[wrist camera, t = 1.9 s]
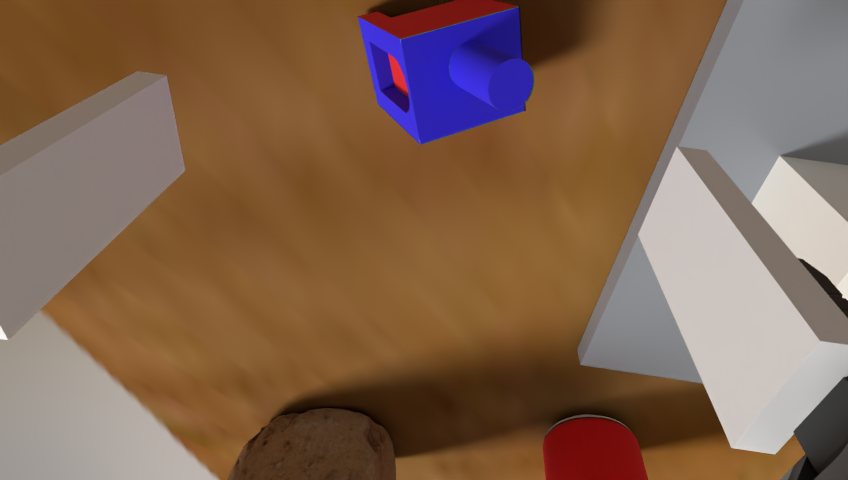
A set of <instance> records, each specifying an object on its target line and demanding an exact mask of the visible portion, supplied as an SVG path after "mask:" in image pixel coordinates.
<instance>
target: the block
mask: <svg viewBox="0 0 848 480" xmlns="http://www.w3.org/2000/svg"><path fill="white" fill-rule="evenodd" d="M227 480H396V466H395V456H394V449H393V444H392V441H391V439H390V436H389V434H388V432H387V431H386V430H385V428H384V427H383V426H381V425H378V424H376V423H375V422H374V421H373V420H371V419H370V417H368V416H365V415H363V414H361V413H359V412H353V411H349V410H346V409H335V408H321V409H313V410H309V411H307V412H306V413H302V414H297V413H291V414H288V415H282V416H278V417H277V418H275V419H274V420H273V421H272V422H271V423H270V424H268V425H267V426H265V427H263V428H261V430H260V432H259V433H258V434H257V435H256V436H254V437H253V438H252V439H251V440H249V441H248V443H247V444H246V445H245V446H244V447H243V449H242V451H241V453H240V455H239V456H238V458H237V460H236V462H235V464H234V465H233V467H232V470H231V472H230V474H229V477H228V479H227Z"/></svg>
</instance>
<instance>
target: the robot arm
mask: <svg viewBox="0 0 848 480" xmlns="http://www.w3.org/2000/svg"><path fill="white" fill-rule="evenodd" d="M184 171H185V167H184V162H183V157H182V152H181V147H180V141H179V136H178V131H177V126H176V121H175V116H174V111H173V106H172V101H171V96H170V90H169V85H168V80H167V75H160V74H153V73H146V72H138V71H137V72H135V73H133V74H131V75H130V76H128V77H126V78H124V79H122V80H120V81H119V82H117V83H115V84H113V85H111V86H109V87H107V88H106V89H104V90H102V91H100V92H98V93H96V94H94V95H93V96H91V97H89V98H87V99H85V100H83V101H82V102H80V103H78V104H76V105H74V106H72V107H70V108H69V109H67V110H65V111H63V112H61V113H59V114H57V115H56V116H54V117H52V118H50V119H48V120H46V121H45V122H43V123H41V124H39V125H37V126H35V127H33V128H32V129H30V130H28V131H26V132H24V133H22V134H20V135H19V136H17V137H15V138H13V139H11V140H9V141H7V142H6V143H4V144H2V145H0V339H4V340H9V339H10V338H11V337H12V336H13V335H14V334H15V333H16V332H17V331H18V330H19V329H20V328H21V327H22V326H24V325H25V324H26V323H27V322H28V321H29V320H30V319H31V318H32V317H33V316H34V315H35V314H36V313H37V312H38V311H39V310H40V309H41V308H42V307H43V306H44V305H45V304H46V303H47V302H49V301H50V300H51V299H52V298H53V297H54V296H55V295H56V294H57V293H58V292H59V291H60V290H61V289H62V288H63V287H64V286H65V285H66V284H67V283H68V282H69V281H70V280H71V279H73V278H74V277H75V276H76V275H77V274H78V273H79V272H80V271H81V270H82V269H83V268H84V267H85V266H86V265H87V264H88V263H89V262H90V261H91V260H92V259H93V258H94V257H95V256H97V255H98V254H99V253H100V252H101V251H102V250H103V249H104V248H105V247H106V246H107V245H108V244H109V243H110V242H111V241H112V240H113V239H114V238H115V237H116V236H117V235H118V234H119V233H120V232H122V231H123V230H124V229H125V228H126V227H127V226H128V225H129V224H130V223H131V222H132V221H133V220H134V219H135V218H136V217H137V216H138V215H139V214H140V213H141V212H142V211H143V210H144V209H146V208H147V207H148V206H149V205H150V204H151V203H152V202H153V201H154V200H155V199H156V198H157V197H158V196H159V195H160V194H161V193H162V192H163V191H164V190H165V189H166V188H167V187H168V186H170V185H171V184H172V183H173V182H174V181H175V180H176V179H177V178H178V177H179V176H180V175H181V174H182V173H183V172H184ZM638 236H639V238H640V241H641V243H642V245H643V247H644V250H645V252H646V254H647V257H648V259H649V261H650V263H651V266H652V268H653V270H654V273H655V275H656V277H657V279H658V282H659V284H660V286H661V288H662V291H663V293H664V295H665V298H666V300H667V302H668V304H669V307H670V309H671V311H672V313H673V316H674V318H675V320H676V323H677V325H678V327H679V329H680V332H681V334H682V336H683V338H684V341H685V343H686V345H687V348H688V350H689V352H690V354H691V357H692V359H693V361H694V364H695V366H696V368H697V370H698V373H699V375H700V377H701V379H702V382H703V384H704V386H705V389H706V391H707V393H708V395H709V398H710V400H711V402H712V404H713V407H714V409H715V411H716V414H717V416H718V418H719V420H720V423H721V425H722V427H723V429H724V432H725V434H726V436H727V439H728V441H729V443H730V445H731V448H736V449H742V450H749V451H756V452H762V453H769V454H776V453H777V452H778V451H779V449H780V448H781V447H782V446H783V445H784V444H785V443H786V442H787V441H788V440H789V439H790V438H791V437H792V435H793V434H795V436H796V437H797V439H798V441H799V443H800V444H801V446H802V448H803V450H804V451H805V453H806V454H805V455H804V456H803V457H802V458H801V459H800V460H799V461H798V462H797V463H796V464H795V465H794V466H793V467H792V468H791V469H790V470H789V471H788V472H787V473H786V474H785V475H784V476H783V477H782V478H781V479H780V480H848V300H847V299H846V298H842V293H841V292H840V291H839V290H838V289H837V288H836V287H835V285H834V284H833V283H832V282H831V281H830V280H829V279H828V277H827V276H825V275H824V274H823V273H821V272H820V271H819V270H817V269H816V268H814V267H813V266H812V265H810V264H809V263H807V262H806V261H805V260H803V259H799V258H797V257H796V256H795V255H794V254H793V252H792V251H791V250H790V249H789V248H788V246H787V245H786V244H785V243H784V242H783V240H782V239H781V238H780V237H779V236H778V234H777V233H776V232H775V231H774V230H773V229H772V227H771V226H770V225H769V224H768V223H767V221H766V220H765V219H764V218H763V217H762V215H761V214H760V213H759V212H758V211H757V209H756V208H755V207H754V206H753V205H752V203H751V202H750V201H749V200H748V199H747V198H746V196H745V195H744V194H743V193H742V192H741V190H740V189H739V188H738V187H737V186H736V184H735V183H734V182H733V181H732V180H731V178H730V177H729V176H728V175H727V174H726V172H725V171H724V170H723V169H722V168H721V167H720V165H719V164H718V163H717V162H716V161H715V159H714V158H713V157H712V156H711V155H710V153H709V152H708V151H707V150H700V149H693V148H686V147H679V146H677V147H676V149H675V151H674V153H673V156H672V158H671V160H670V163H669V165H668V167H667V169H666V172H665V174H664V176H663V179H662V181H661V183H660V185H659V188H658V190H657V192H656V195H655V197H654V199H653V201H652V204H651V206H650V208H649V211H648V213H647V215H646V217H645V220H644V222H643V224H642V227H641V229H640V231H639V233H638Z"/></svg>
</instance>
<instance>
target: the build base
mask: <svg viewBox="0 0 848 480" xmlns="http://www.w3.org/2000/svg"><path fill="white" fill-rule="evenodd" d="M677 146H679V147H686V148H693V149H700V150H707V151H708V152H709V153H710V155H711V156H712V157H713V158H714V159H715V161H716V162H717V163H718V164H719V165H720V167H721V168H722V169H723V170H724V171H725V172H726V174H727V175H728V176H729V177H730V178H731V180H732V181H733V182H734V183H735V184H736V186H737V187H738V188H739V189H740V190H741V192H742V193H743V194H744V195H745V196H746V198H747V199H748V200H749V201H750V202H751V203H752V205H753V206H754V207H755V208H756V209H757V211H758V212H759V213H760V214H761V215H762V217H763V218H764V219H765V220H766V221H767V223H768V224H769V225H770V226H771V227H772V229H773V230H774V231H775V232H776V233H777V234H778V236H779V237H780V238H781V239H782V240H783V242H784V243H785V244H786V245H787V246H788V248H789V249H790V250H791V251H792V252H793V254H794V255H795V256H796V257H797V258H799V259H803V260H805V261H806V262H807V263H809V264H810V265H812V266H813V267H814V268H816V269H817V270H819V271H820V272H821V273H823V274H824V275H825V276H827V277H828V279H829V280H830V281H831V282H832V283H833V284H834V285H835V287H836V288H837V289H838V290H839V291H840V292H841V293H842V298H846V299H847V300H848V0H727V2H726V5H725V7H724V9H723V12H722V14H721V16H720V19H719V21H718V23H717V26H716V28H715V30H714V33H713V35H712V37H711V40H710V42H709V44H708V47H707V49H706V51H705V53H704V56H703V58H702V60H701V63H700V65H699V67H698V70H697V72H696V74H695V77H694V79H693V81H692V84H691V86H690V88H689V91H688V93H687V95H686V98H685V100H684V102H683V105H682V107H681V109H680V112H679V114H678V116H677V118H676V121H675V123H674V125H673V128H672V130H671V132H670V135H669V137H668V139H667V142H666V144H665V146H664V149H663V151H662V153H661V156H660V158H659V160H658V163H657V165H656V167H655V170H654V172H653V174H652V177H651V179H650V181H649V183H648V186H647V188H646V190H645V193H644V195H643V197H642V200H641V202H640V204H639V207H638V209H637V211H636V214H635V216H634V218H633V221H632V223H631V225H630V228H629V230H628V232H627V235H626V237H625V239H624V242H623V244H622V246H621V248H620V251H619V253H618V255H617V258H616V260H615V262H614V265H613V267H612V269H611V272H610V274H609V276H608V279H607V281H606V283H605V286H604V288H603V290H602V293H601V295H600V297H599V300H598V302H597V304H596V307H595V309H594V311H593V313H592V316H591V318H590V320H589V323H588V325H587V327H586V330H585V332H584V334H583V337H582V339H581V341H580V344H579V346H578V348H577V350H578V356H579V361H580V365H584V366H591V367H597V368H604V369H611V370H617V371H624V372H631V373H637V374H644V375H650V376H657V377H664V378H670V379H677V380H684V381H690V382H697V383H703V382H702V379H701V377H700V375H699V373H698V370H697V368H696V366H695V364H694V361H693V359H692V357H691V354H690V352H689V350H688V348H687V345H686V343H685V341H684V338H683V336H682V334H681V332H680V329H679V327H678V325H677V323H676V320H675V318H674V316H673V313H672V311H671V309H670V307H669V304H668V302H667V300H666V298H665V295H664V293H663V291H662V288H661V286H660V284H659V282H658V279H657V277H656V275H655V273H654V270H653V268H652V266H651V263H650V261H649V259H648V257H647V254H646V252H645V250H644V247H643V245H642V243H641V241H640V238H639V236H638V233H639V231H640V229H641V227H642V224H643V222H644V220H645V217H646V215H647V213H648V211H649V208H650V206H651V204H652V201H653V199H654V197H655V195H656V192H657V190H658V188H659V185H660V183H661V181H662V179H663V176H664V174H665V172H666V169H667V167H668V165H669V163H670V160H671V158H672V156H673V153H674V151H675V149H676V147H677Z"/></svg>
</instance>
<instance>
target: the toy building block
mask: <svg viewBox="0 0 848 480" xmlns="http://www.w3.org/2000/svg"><path fill="white" fill-rule="evenodd" d="M358 20H359V24H360V29H361V33H362V37H363V42H364V46H365V50H366V55H367V59H368V63H369V68H370V72H371V76H372V81H373V85H374V89H375V94H376V98H377V102H378V105H379V106H380V107H381V108H382V109H383V110H385V111H386V112H387V113H388V114H389V115H390V116H391V117H392V118H393V119H394V120H395V121H396V122H397V123H398V124H399V125H400V126H401V127H402V128H403V129H404V130H405V131H406V132H408V133H409V134H410V135H411V136H412V137H413V138H414V139H415V140H416V141H417V142H418V143H419V144H420V145H422V144H425V143H428V142H431V141H434V140H437V139H440V138H443V137H446V136H449V135H452V134H455V133H458V132H461V131H465V130H468V129H471V128H474V127H477V126H480V125H483V124H486V123H489V122H492V121H495V120H498V119H501V118H505V117H508V116H511V115H514V114H517V113H520V112H523V111H526V109H525V102H526V101H527V100H528V99H529V97H530V95H531V93H532V91H533V87H534V73H533V71H532V68H531V66H530V65H529V64H528V63H527V62H526V61H524V60H523V55H522V38H521V20H520V6H516V5H512V4H508V3H503V2H499V1H495V0H455V1H451V2H447V3H444V4H440V5H436V6H432V7H429V8H425V9H421V10H417V11H413V12H410V13H406V14H402V15H398V16H395V17H389V16H386V15H384V14H382V13H380V12H374V13H370V14H366V15H362V16H358Z"/></svg>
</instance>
